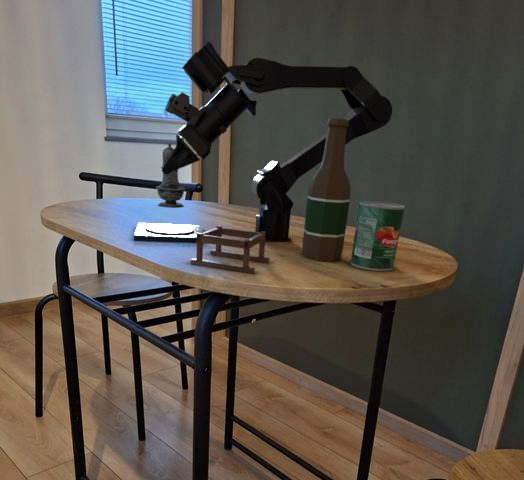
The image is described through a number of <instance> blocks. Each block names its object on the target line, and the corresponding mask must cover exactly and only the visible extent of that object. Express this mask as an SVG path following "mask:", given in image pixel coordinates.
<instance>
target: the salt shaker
mask: <svg viewBox="0 0 524 480" xmlns="http://www.w3.org/2000/svg"><path fill="white" fill-rule="evenodd" d="M174 150H175V148H173V147H172V144H171V142H168V144H167V147H165V148H164V149H162V166H160V168H161V170H162V169H163V167H164V165H165V164H166V162H167V161H168V159H169V158H170V156H171V155H172V153H173V152H174ZM155 189H156V190H157V195H158V196H159V199H161V200H163V201H162V202H161V201H160V203H158V204H157V206H158V207H160V208H168V209H178V208H180V209H181V208H184V207H185V205H184V204H182V203H181V202H177V201H180V200H181V199H182V198H183V196H184V194H185V190H186V187H183V186H182V185H181V184H180V182H179V169H177V170H175V171H173V172H170V173H168V174H164V173H163V172H162V182H161V184H159V185H157V186H155Z"/></svg>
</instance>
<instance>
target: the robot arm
mask: <svg viewBox="0 0 524 480" xmlns="http://www.w3.org/2000/svg"><path fill="white" fill-rule="evenodd" d="M181 70H182V71H183V72H184V73H185V74H186V75H187V77H188V78H189V79H190V80H191V81H192V83H193V84H194V85H195V86H196V88H197V89H198V90H199V91H200V92H201V94H205V93H208V94H209V95H212V94H213V93H214V92H215V91H216V90H217V89H218V88H219V87H220V86H221V85H222V84H223V83H224V86H223V87H222V88H221V89H220V90H219V91H218V92H217V93H216V94H215V95H214V96H213V97H212V98H211V99H210V100H209V101H208V103H206V105H202V106H201V107H200V108H198V107H196V106H195V105H193V104H191V103H190V102H191V101H190V100H191V99H190V95H188V94H186V93H184V92H180V93H179V94H178V95H176V94H175V93H172V92H171V93H170V95H169V98H168V100H167V103H166V105H165V107H164V111H165V112H167V113H169V114H170V115H174V116H176V117H177V118H178V119H179V118H180V119H181V120H183V121H185V122H186V123H185V125H183V126H181V128H179V129H178V130H177V133H176V134H175V144H176V145H175V147H174V149H175V150H174V152H173V153H172V155H171V156H170V158H169V159H168V161H167V162H166V164H165V165H164V167H163V169H162V168H161V172H162V174H163V173H164V174H168V173H170V172H173V171H175V170H177V169H178V170H180V169H183V168H185V167H187V166H190V165H192V164H194V163H197V162H199V161H201V159H202V161H204V160H205V159H206V158H207V157H208V156H209V155H210V154H211V147H212V146H213V144H214V143H215V142H216V141H217V140H218V139H219V138H220V137H221V136H222V135H224V134H225V133H226V132H227V131H228V128H230V126H232V125H233V124H234V123H235V122H236V120H237V119H239V118H240V117H241V115H242V114H244V112H245V111H246V112H247V114H248V115H249V116H250V117H255V116H257V104H258V101H257V100H251V99H250V98H249V96H248V95H250V96H257V95H263V94H267V93H272V92H277V91H282V90H287V89H289V90H292V89H293V90H339V92H341V94H342V95H343V98H344V99H345V101H346V104H347V105H348V108H350V110H349V111H348V113H347V114H346V115H345V116H344V118H343V119H347V120H348V125H349V126H348V127H347V128H346V140H345V146H346V145H348V144H349V143H350V142H352V141H353V140H355V139H357V138H359V137H362V136H364V135H368V134H370V133H372V132H375V131H377V130H379V129H381V128H383V127H385V126H387V125H388V124H389V122H390V121H391V119H392V115H393V106H392V102H391V101H390V100H389V98H387V97H386V96H384V95H381V93H380V92H379V90H378V89H377V87H375V86H374V85H373V84H372V83H371V82H369V80H367V78H365V77H364V75H363V74H362V73H361V70H359V69H358V68H357V67H356V66H355V65H347V66H311V65H310V66H307V65H306V66H304V65H302V66H301V65H288V64H284V63H281V62H278V61H277V60H271V59H268V58H264V57H263V58H262V57H254V58H252V59H250V60H248V61H247V62H246V63H245V64H241V65H239V64H238V65H235V64H233V65H229V66H228V65H227V64H226V62H225V61H224V59H222V58H221V56H220V55H219V53H218V52H217V51H216V48H215V47H214V45H213V44H212V43H211V42H210V41H207V42H206V43H205V45H203V46H202V47H201V48H200V49H199V50H198V51H195V53H193V54H192V56H191V57H190V58H189V59H188V60H187V61H186V62H185V64H184V65H183V66H182V67H181ZM233 84H234V85H237V86H239V87H241V88H239V89H238V90H237V88H236V87H234V85H233ZM247 94H248V95H247ZM326 137H327V132H326V133H325V134H323V135H321V137H319V138H317V139H316V140H315V141H313V142H312V143H311V144H309V145H307V147H305V148H304V149H302V150H301V151H299V152H298V153H297V154H295V155H294V156H293V157H291V158H289V159H288V160H287V161H285V162H283V163H280V162H279V161H277V160H273V159H272V160H271V161H270V162H268V163H267V165H266V166H265V167H263V168H261V169H258V170H256V173H258V174H256V175H255V176H254V177H253V179H252V183H251V191H252V194H253V195H254V196H255V198H257V199H258V200H259V204H260V206H261V207H259V208H258V214H256V216H255V230H254V232H261V231H263V232H266V237H265V242H267V241H268V242H269V241H272V242H273V241H279V242H280V241H283V242H286V241H287V242H289V241H292V238H291V237H289V235H290V234H289V233H290V223H291V213H292V208H293V207H294V201H292V199H291V198H290V197H289V195H287V193H288V192H289V191H290V190H291V189H292V187H293V186H294V185H295V183H296V182H297V181H298V179H300V178H301V177H303V176H304V175H305V174H306V173H308V172H310V171H311V170H312V169H314V168H315V167H316V166H318V165H319V164H321V163H322V159H323V154H324V148H325V142H326ZM200 158H201V159H200Z"/></svg>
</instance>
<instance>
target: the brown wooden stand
mask: <svg viewBox="0 0 524 480" xmlns="http://www.w3.org/2000/svg"><path fill="white" fill-rule="evenodd" d="M225 236H227V237H225ZM231 237H232V238H231ZM233 237H235V238H233ZM265 237H266V232H263V231H261V232H255V230H245V229H237V228H230V227H223V225H217V226H216V227H213V228H211V229H208V230H206V231H203V233H197V243H196V258H193V257H192V258H191V259H190V265H195V266H201V267H207V268H215V269H221V270H227V271H233V272H238V273H239V272H240V273H246V274H247V273H248V274H255V272H256V271H255V269H256V267H253V266H250V261H251V262H252V261H253V262H259V263H265V264H268V263H270V257H268V256H265V250H266V249H265V248H266V241H265ZM238 238H241V239H238ZM204 244H210V245H215V249H213V248H212V249H211V250H210V253H209V254H210V255H211V256H217V257H225V258H232V259H238V260H242V265H240V264H233V263H227V262H220V261H215V260H214V261H213V260H208V259H203V258H204V257H203V255H204V253H203V252H204ZM258 244H259V245H258ZM257 245H258V255H255V254H251V253H250V252H251V248H253V247H255V246H257ZM222 246H223V247H231V248H238V249H243V253H240V252H235V251H234V252H233V251H227V250H222Z"/></svg>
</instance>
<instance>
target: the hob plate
mask: <svg viewBox="0 0 524 480" xmlns="http://www.w3.org/2000/svg"><path fill="white" fill-rule="evenodd" d="M203 232H204V228H203V226H202V225H199V224H198V225H197V224H175V223H174V224H173V223H152V222H151V223H149V222H138V223H137V225H136V227H135V230H134V234H133V241H140V242H141V241H142V242H166V243H167V242H170V243H196V244H197V233H203Z"/></svg>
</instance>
